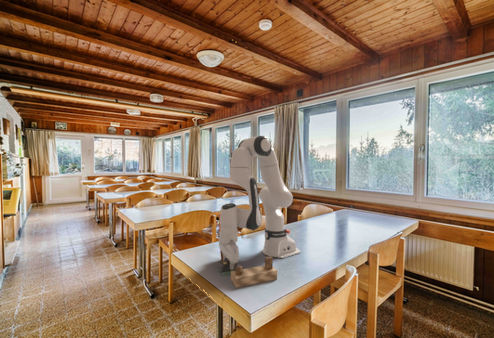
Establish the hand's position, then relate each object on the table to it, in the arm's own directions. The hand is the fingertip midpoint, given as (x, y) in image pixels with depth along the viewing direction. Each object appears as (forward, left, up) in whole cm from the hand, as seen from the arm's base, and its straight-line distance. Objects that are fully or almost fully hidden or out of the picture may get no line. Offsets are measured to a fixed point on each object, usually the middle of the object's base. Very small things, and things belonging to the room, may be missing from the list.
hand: (228, 265), depth 114 cm
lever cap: (0, 0, -2) cm, 2 cm away
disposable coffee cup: (-3, -11, -3) cm, 12 cm away
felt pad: (0, 0, -3) cm, 3 cm away
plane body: (-8, +13, -3) cm, 16 cm away
